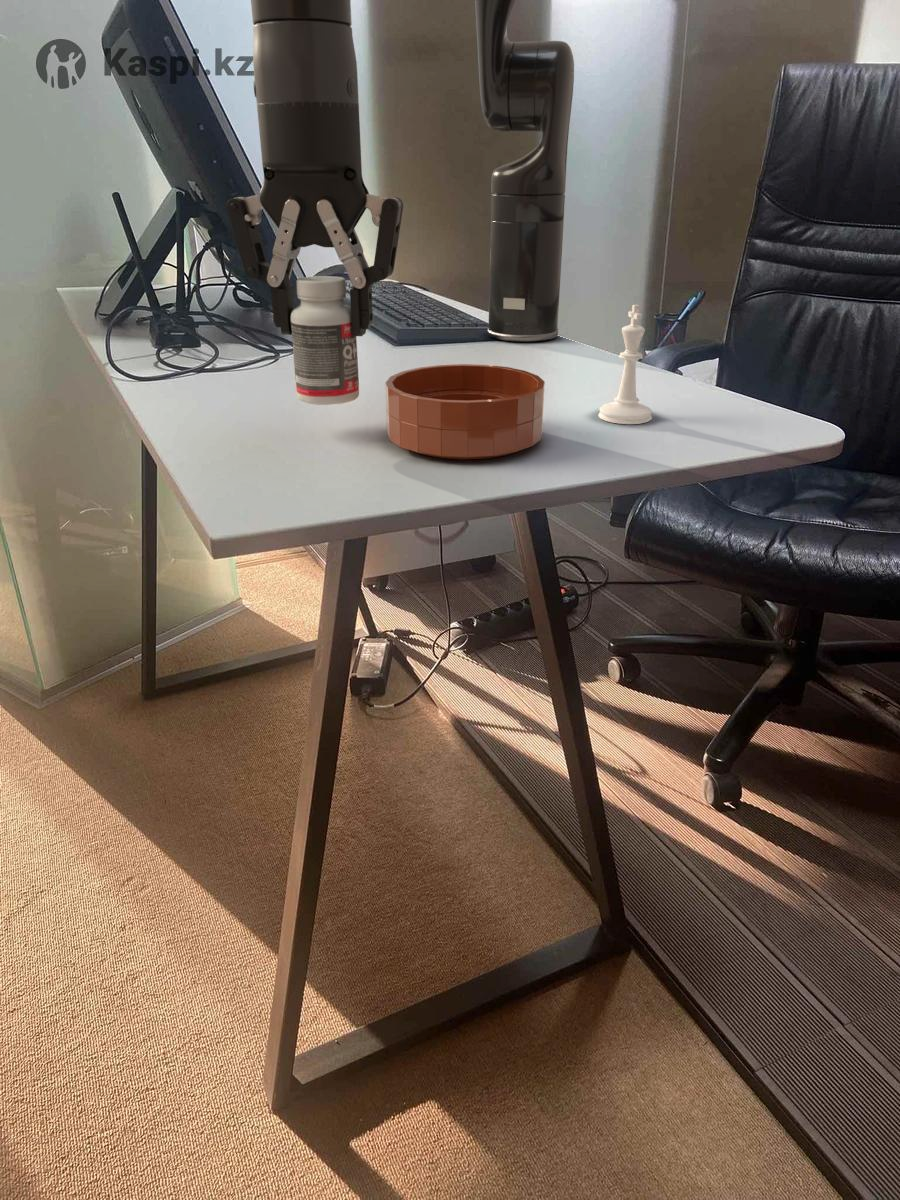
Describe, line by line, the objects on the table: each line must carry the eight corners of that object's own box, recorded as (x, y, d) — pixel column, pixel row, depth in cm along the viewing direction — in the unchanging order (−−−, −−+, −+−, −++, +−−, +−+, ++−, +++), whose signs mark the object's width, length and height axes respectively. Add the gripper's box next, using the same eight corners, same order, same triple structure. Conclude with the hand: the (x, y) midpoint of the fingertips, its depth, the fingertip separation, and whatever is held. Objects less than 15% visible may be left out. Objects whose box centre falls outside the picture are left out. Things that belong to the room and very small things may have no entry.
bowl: (403, 416, 80) (402, 362, 78) (544, 421, 79) (547, 366, 77) (373, 460, 69) (370, 399, 67) (537, 468, 67) (540, 405, 65)
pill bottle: (361, 405, 72) (354, 282, 67) (296, 407, 71) (285, 284, 67) (358, 389, 77) (352, 273, 72) (297, 391, 76) (287, 275, 71)
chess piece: (612, 426, 77) (622, 311, 73) (590, 411, 82) (598, 302, 77) (661, 422, 79) (674, 308, 74) (637, 408, 83) (648, 299, 78)
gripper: (412, 101, 66) (416, 327, 74) (233, 102, 68) (256, 324, 76) (393, 95, 59) (400, 345, 67) (195, 97, 61) (225, 340, 69)
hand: (323, 333), depth 71 cm, fingers closed on pill bottle, 5 cm apart
